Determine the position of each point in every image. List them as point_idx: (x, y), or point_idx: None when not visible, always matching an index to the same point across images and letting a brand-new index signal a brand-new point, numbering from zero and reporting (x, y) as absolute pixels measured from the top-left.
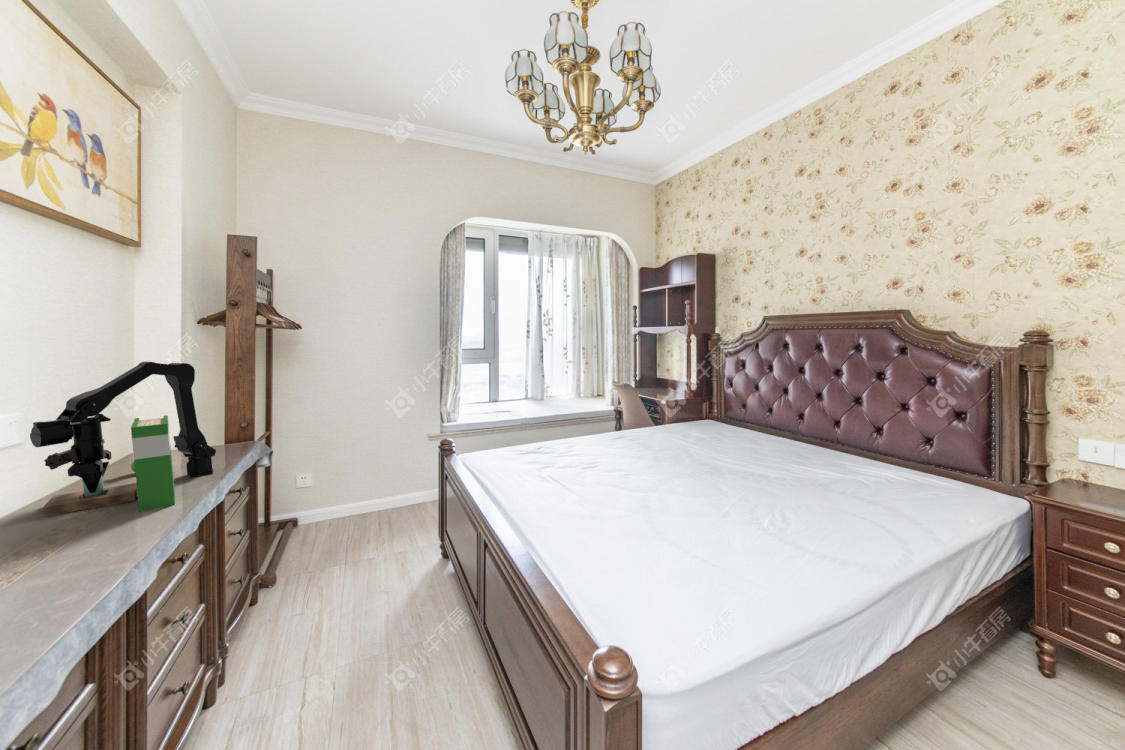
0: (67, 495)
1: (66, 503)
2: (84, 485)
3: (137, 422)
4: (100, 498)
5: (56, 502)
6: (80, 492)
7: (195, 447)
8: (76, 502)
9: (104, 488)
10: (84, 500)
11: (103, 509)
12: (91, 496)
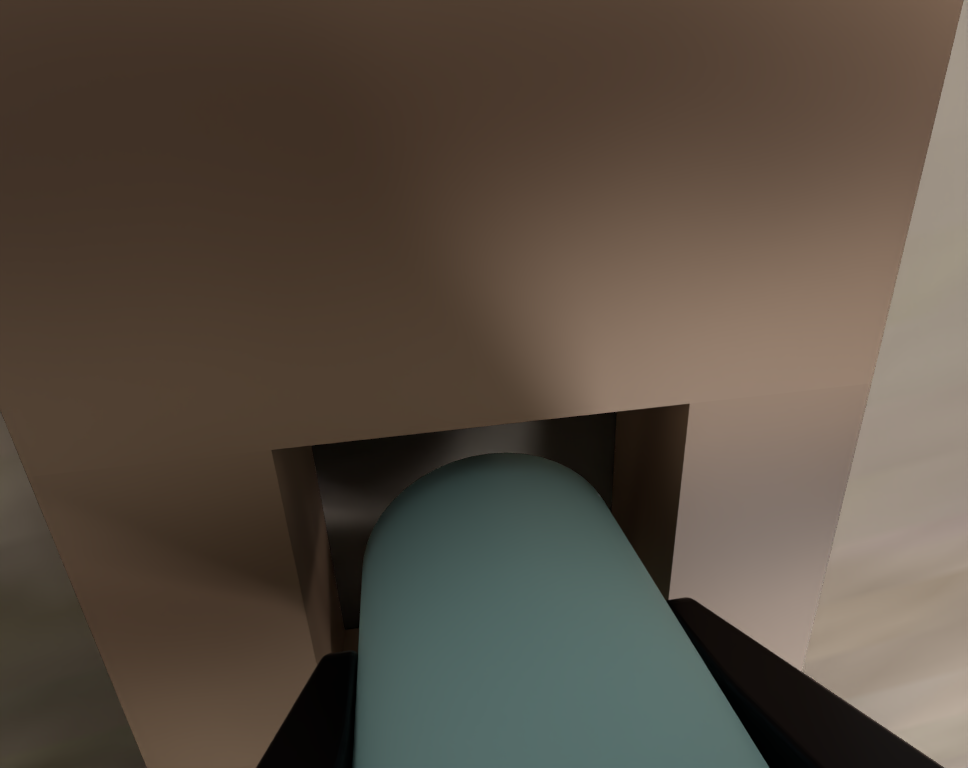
0: (767, 150)
1: None
2: (410, 754)
3: None
4: (143, 737)
5: (217, 57)
6: (810, 341)
7: None
8: (41, 470)
9: (771, 618)
10: (81, 580)
11: (3, 685)
12: (362, 589)
